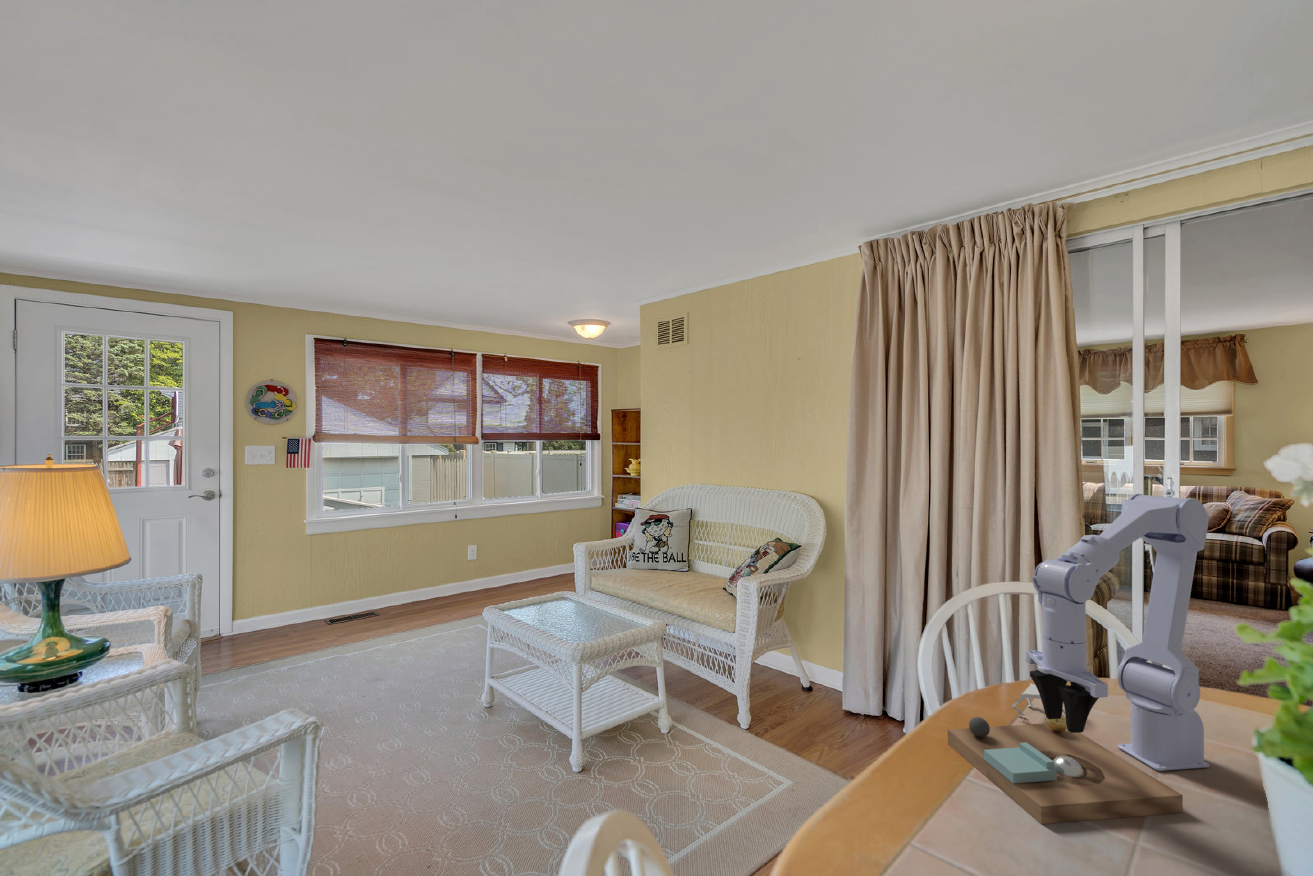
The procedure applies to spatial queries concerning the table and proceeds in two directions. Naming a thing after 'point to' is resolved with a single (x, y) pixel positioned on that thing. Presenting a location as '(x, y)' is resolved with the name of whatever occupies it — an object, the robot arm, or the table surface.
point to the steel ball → (1068, 767)
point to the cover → (1021, 764)
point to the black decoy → (979, 727)
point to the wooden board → (1094, 796)
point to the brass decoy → (1057, 724)
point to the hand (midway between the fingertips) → (1064, 724)
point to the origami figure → (1028, 697)
